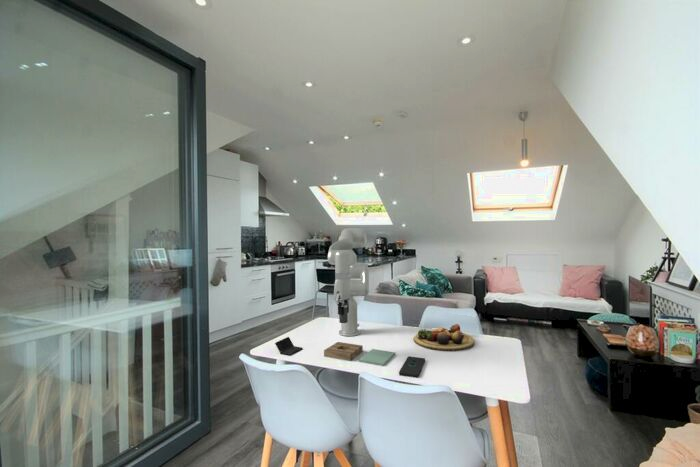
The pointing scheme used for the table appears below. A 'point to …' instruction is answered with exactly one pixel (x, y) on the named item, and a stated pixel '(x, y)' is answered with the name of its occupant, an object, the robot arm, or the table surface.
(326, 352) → the wooden block with hole
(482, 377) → the table surface
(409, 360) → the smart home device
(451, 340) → the wooden plate with food
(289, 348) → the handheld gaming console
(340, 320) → the plug
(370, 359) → the mat
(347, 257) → the robot arm
